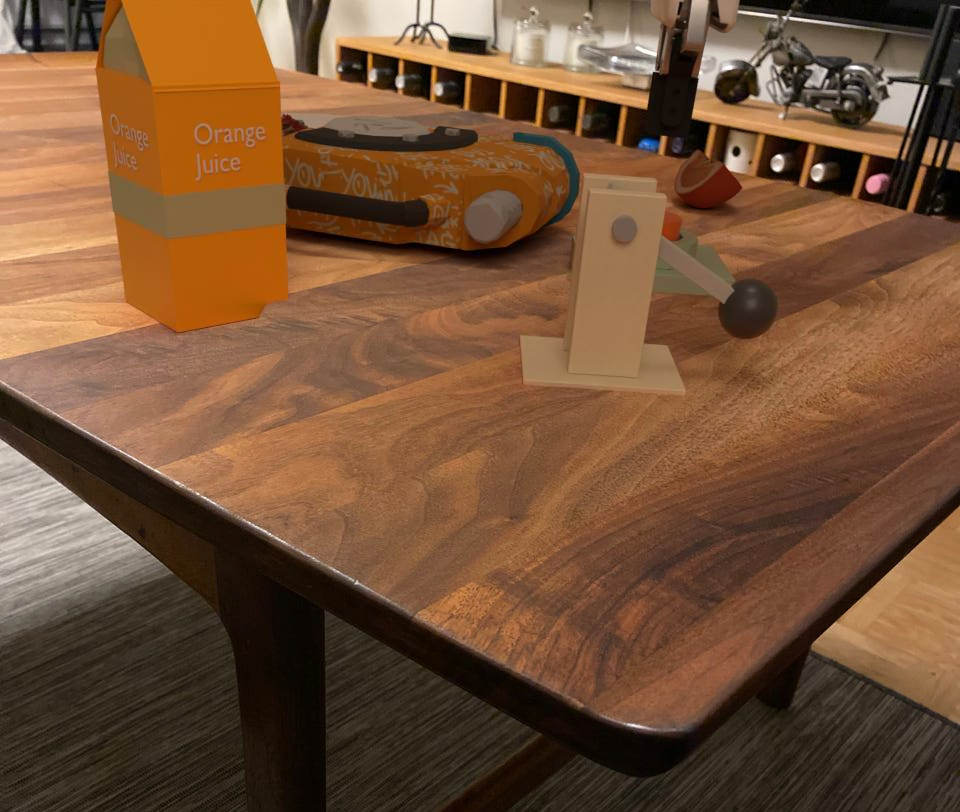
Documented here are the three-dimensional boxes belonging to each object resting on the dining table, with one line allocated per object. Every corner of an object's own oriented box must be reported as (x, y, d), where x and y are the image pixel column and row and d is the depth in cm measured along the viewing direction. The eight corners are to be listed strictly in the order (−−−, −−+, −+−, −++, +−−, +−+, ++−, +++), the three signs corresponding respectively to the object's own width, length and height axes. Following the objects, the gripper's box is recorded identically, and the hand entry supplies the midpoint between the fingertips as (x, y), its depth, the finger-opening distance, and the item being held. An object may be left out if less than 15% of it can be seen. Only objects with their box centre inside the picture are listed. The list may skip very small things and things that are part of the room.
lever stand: (664, 362, 70) (697, 176, 63) (683, 409, 63) (721, 207, 57) (518, 352, 70) (535, 164, 63) (521, 398, 63) (541, 193, 56)
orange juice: (290, 311, 73) (278, -22, 62) (177, 333, 68) (140, -25, 57) (233, 282, 78) (211, -33, 66) (123, 300, 73) (78, -38, 61)
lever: (744, 338, 67) (782, 291, 65) (756, 358, 64) (796, 310, 62) (579, 222, 63) (615, 169, 61) (584, 238, 60) (622, 182, 58)
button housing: (707, 271, 89) (716, 223, 87) (729, 308, 81) (740, 256, 79) (569, 261, 89) (575, 212, 86) (577, 297, 80) (584, 244, 78)
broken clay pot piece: (662, 195, 112) (670, 145, 109) (720, 198, 113) (730, 148, 110) (685, 215, 106) (694, 162, 103) (747, 217, 107) (758, 165, 104)
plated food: (422, 197, 104) (423, 160, 102) (140, 165, 107) (136, 129, 105) (473, 145, 128) (475, 115, 126) (243, 121, 131) (241, 91, 129)
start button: (674, 233, 84) (678, 211, 83) (681, 247, 81) (685, 224, 80) (625, 230, 84) (629, 207, 83) (631, 243, 81) (634, 220, 80)
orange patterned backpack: (524, 181, 75) (160, 129, 81) (513, 294, 80) (171, 237, 86) (590, 134, 93) (287, 94, 99) (578, 229, 98) (290, 185, 104)
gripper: (802, -173, 62) (733, 158, 72) (750, -161, 74) (697, 121, 84) (678, -186, 61) (627, 149, 72) (646, -172, 73) (607, 113, 84)
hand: (665, 133), depth 78 cm, fingers closed
